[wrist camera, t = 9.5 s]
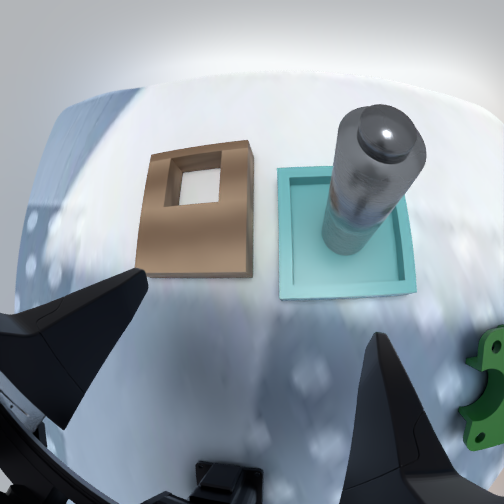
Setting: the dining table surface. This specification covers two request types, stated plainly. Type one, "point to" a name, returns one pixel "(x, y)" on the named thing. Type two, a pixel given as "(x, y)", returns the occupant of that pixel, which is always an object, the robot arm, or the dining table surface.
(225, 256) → the socket block
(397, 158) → the grey capped bottle
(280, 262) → the tray
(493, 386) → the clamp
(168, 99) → the dining table surface
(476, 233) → the dining table surface
